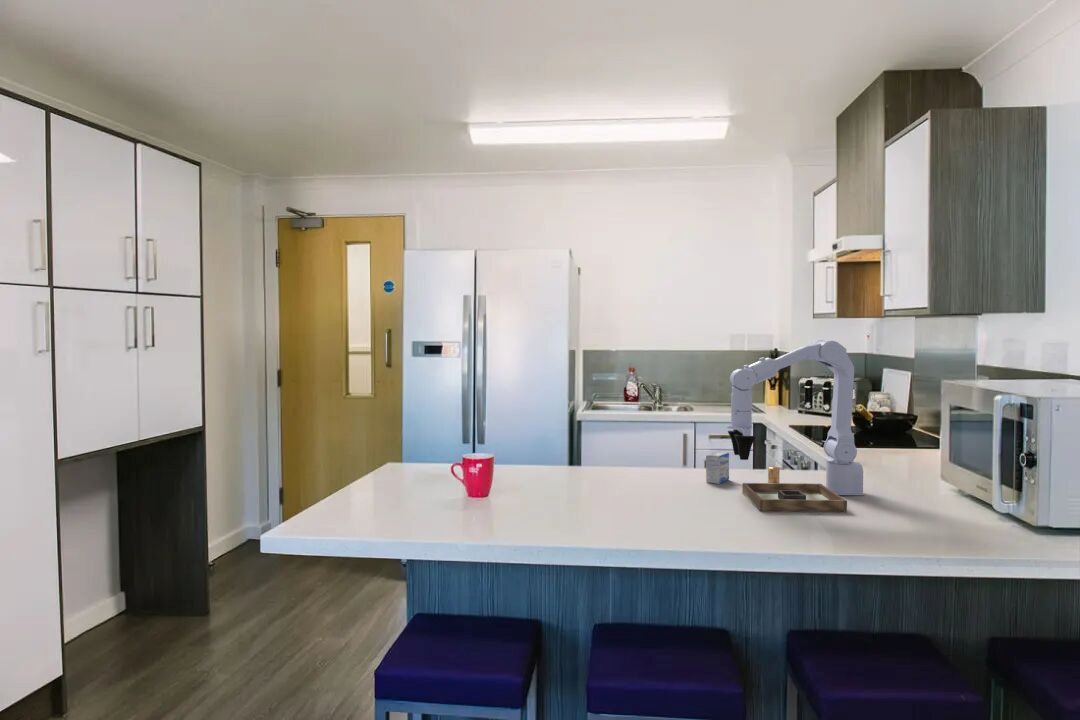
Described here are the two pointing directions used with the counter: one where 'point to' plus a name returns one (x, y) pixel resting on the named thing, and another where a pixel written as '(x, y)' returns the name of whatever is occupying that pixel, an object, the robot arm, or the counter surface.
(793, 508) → the walled box
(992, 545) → the counter surface
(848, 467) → the robot arm
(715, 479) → the medicine box
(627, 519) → the counter surface
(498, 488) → the counter surface
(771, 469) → the bronze metal cylinder
